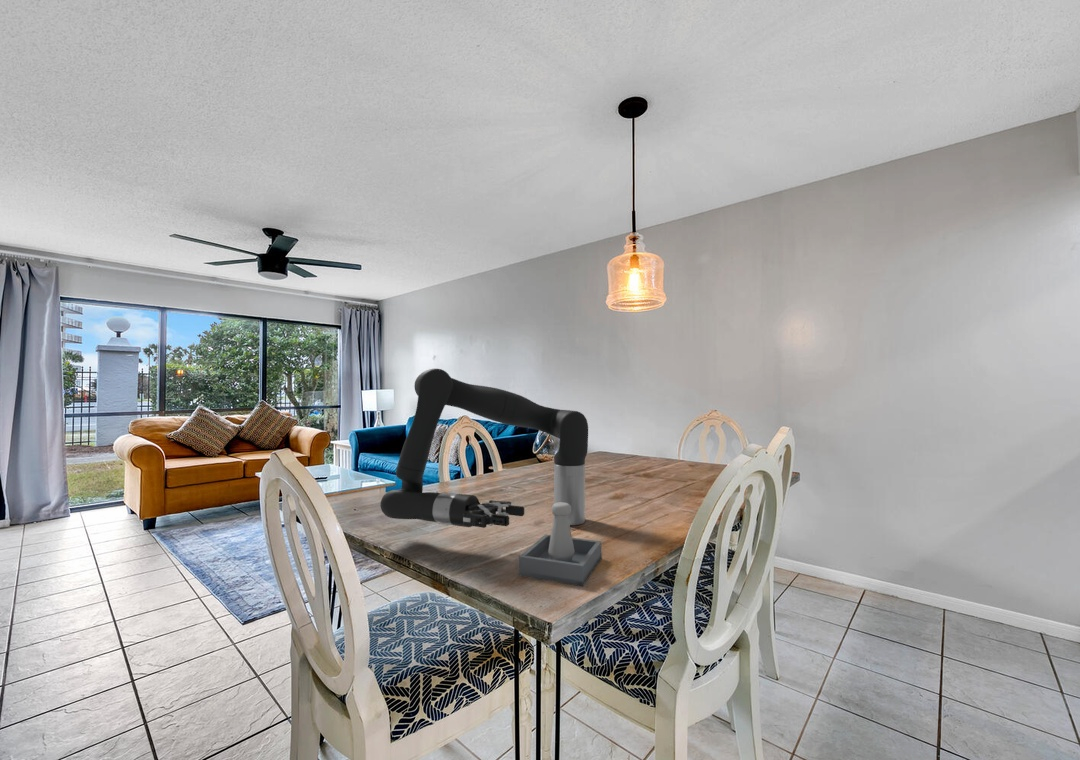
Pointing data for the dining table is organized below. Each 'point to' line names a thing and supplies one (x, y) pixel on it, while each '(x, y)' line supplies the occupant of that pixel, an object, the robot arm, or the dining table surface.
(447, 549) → the dining table surface
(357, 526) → the dining table surface
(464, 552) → the dining table surface
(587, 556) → the tray
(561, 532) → the salt shaker
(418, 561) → the dining table surface
